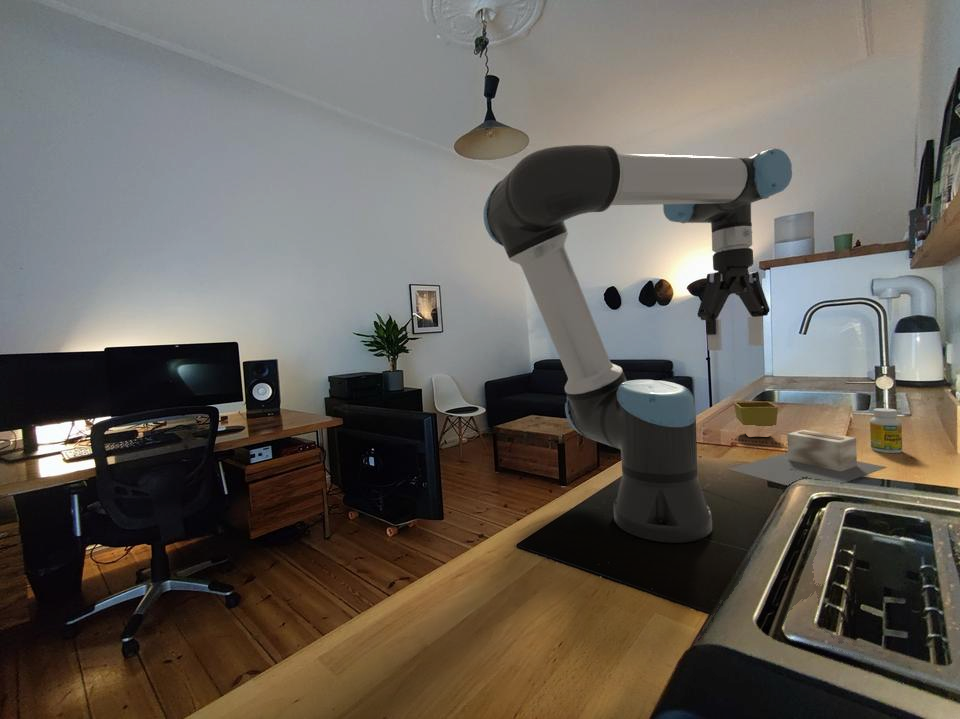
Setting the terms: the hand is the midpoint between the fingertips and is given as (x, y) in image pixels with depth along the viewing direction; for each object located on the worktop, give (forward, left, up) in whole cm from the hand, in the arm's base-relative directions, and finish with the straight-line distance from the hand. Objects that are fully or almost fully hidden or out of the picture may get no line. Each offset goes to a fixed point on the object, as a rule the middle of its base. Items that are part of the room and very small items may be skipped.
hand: (736, 347), depth 92 cm
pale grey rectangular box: (+14, -8, -26) cm, 31 cm away
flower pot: (+27, +14, -27) cm, 41 cm away
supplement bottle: (+35, -11, -27) cm, 45 cm away
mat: (+8, -8, -27) cm, 29 cm away
